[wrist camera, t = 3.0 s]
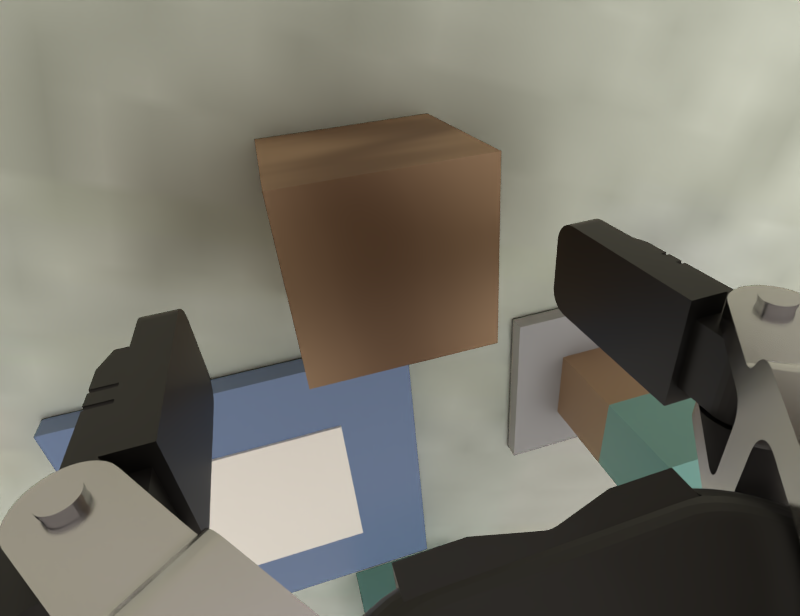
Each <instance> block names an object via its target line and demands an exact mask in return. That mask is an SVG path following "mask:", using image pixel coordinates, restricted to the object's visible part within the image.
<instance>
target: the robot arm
mask: <svg viewBox="0 0 800 616" xmlns="http://www.w3.org/2000/svg"><path fill="white" fill-rule="evenodd" d="M554 296H555V300H556V303H557V306H558V308H559V310H560V311H561V312H562V314H563V315H564V316H565V317H566V318H568V319H569V320H570V321H571V322H572V323H573V324H574V325H575V326H576V327H577V328H579V329H580V330H581V331H582V332H583V333H584V334H585V335H586V336H587V337H589V338H590V339H591V340H592V341H593V342H594V343H595V344H596V345H597V346H598V347H600V348H601V349H602V350H603V351H604V352H605V353H606V354H607V355H608V356H609V357H611V358H612V359H613V360H614V361H615V362H616V363H617V364H618V365H619V366H621V367H622V368H623V369H624V370H625V371H626V372H627V373H628V374H629V375H630V376H632V377H633V378H634V379H635V380H636V381H637V382H638V383H639V384H640V385H641V386H643V387H644V388H645V389H646V390H647V391H648V392H649V393H650V394H651V395H653V396H654V397H655V398H656V399H657V400H658V401H659V402H660V403H661V404H662V405H664V406H666V405H670V404H673V403H676V402H679V401H682V400H686V399H689V398H692V399H693V400H694V401H696V403H695V406H694V409H693V413H692V422H693V429H694V436H695V443H696V450H697V457H698V464H699V471H700V478H701V485H702V488H691V487H690V486H689V485H688V484H687V483H686V482H685V481H684V479H683V478H682V477H681V476H680V475H679V474H678V473H677V472H676V471H675V470H674V469H673V468H669V469H666V470H663V471H660V472H657V473H654V474H651V475H648V476H645V477H642V478H639V479H636V480H633V481H630V482H627V483H624V484H622V485H619V486H616V487H613V488H610V489H608V490H607V491H605V492H604V493H602V494H601V495H600V496H598V497H597V498H595V499H594V500H593V501H591V502H590V503H589V504H587V505H586V506H584V507H583V508H582V509H580V510H579V511H577V512H576V513H575V514H573V515H572V516H571V517H569V518H568V519H566V520H565V521H564V522H562V523H561V524H559V525H558V526H556V527H555V528H553V529H550V530H546V531H536V532H524V533H511V534H499V535H486V536H474V537H466V538H463V539H460V540H457V541H454V542H451V543H448V544H445V545H442V546H439V547H436V548H433V549H430V550H427V551H424V552H421V553H418V554H416V555H413V556H410V557H407V558H404V559H401V560H398V561H395V562H392V568H393V573H394V579H395V585H396V589H394V590H393V591H392V592H390V593H389V594H387V595H386V596H384V597H383V598H381V599H380V600H379V601H378V602H377V603H376V604H375V605H374V606H372V607H371V608H370V609H369V610H368V611H367V612H366V613H365V614H364V615H363V616H800V293H799V292H796V291H793V290H789V289H785V288H780V287H775V286H767V285H750V286H743V287H739V288H736V289H734V290H733V289H732V288H730V287H728V286H726V285H724V284H723V283H721V282H719V281H717V280H715V279H713V278H712V277H710V276H708V275H706V274H704V273H703V272H701V271H699V270H697V269H695V268H693V267H692V266H690V265H688V264H686V263H683V264H682V263H681V260H679V259H677V258H675V257H674V256H672V255H670V254H668V255H666V252H664V251H663V250H661V249H659V248H657V247H655V246H654V245H652V244H650V243H648V242H646V241H642V240H639V239H635V238H633V237H631V236H629V235H627V234H625V233H624V232H622V231H620V230H618V229H616V228H615V227H613V226H611V225H609V224H608V223H606V222H604V221H602V220H600V219H593V220H588V221H584V222H579V223H575V224H570V225H566V226H564V227H563V228H562V229H561V230H560V233H559V236H558V245H557V257H556V269H555V281H554ZM82 407H83V411H81V412H80V414H79V417H78V420H77V423H76V425H75V428H74V431H73V433H72V436H71V439H70V442H69V444H68V447H67V450H66V452H65V455H64V458H63V461H62V463H61V466H60V469H59V470H58V471H56V472H54V473H52V474H50V475H48V476H47V477H45V478H44V479H42V480H40V481H39V482H38V483H36V484H35V485H33V486H32V487H31V488H30V489H28V490H27V491H26V492H25V493H24V494H23V495H22V496H21V497H20V498H19V499H18V500H17V501H16V502H15V503H14V504H13V506H12V507H11V508H10V509H9V511H8V512H7V514H6V516H5V517H4V519H3V521H2V524H1V526H0V616H319V615H318V614H316V613H315V612H314V611H313V610H312V609H310V608H309V607H308V606H307V605H305V604H304V603H303V602H302V601H301V600H299V599H298V598H297V597H296V596H294V595H293V594H292V593H291V592H290V591H288V590H287V589H286V588H285V587H283V586H282V585H281V584H280V583H279V582H277V581H276V580H275V579H274V578H272V577H271V576H270V575H269V574H268V573H266V572H265V571H264V570H263V569H261V568H260V567H259V566H258V565H257V564H255V563H254V562H253V561H252V560H250V559H249V558H248V557H247V556H246V555H244V554H243V553H242V552H241V551H239V550H238V549H237V548H236V547H235V546H233V545H232V544H231V543H230V542H228V541H227V540H226V539H225V538H224V537H222V536H221V535H220V534H218V533H217V532H215V531H214V530H211V529H209V525H210V498H211V470H212V443H213V416H214V396H213V389H212V384H211V380H210V377H209V373H208V371H207V368H206V365H205V363H204V360H203V358H202V355H201V352H200V350H199V347H198V345H197V342H196V339H195V337H194V334H193V332H192V329H191V326H190V324H189V321H188V319H187V317H186V314H185V313H184V311H183V310H182V309H177V310H172V311H167V312H163V313H158V314H154V315H149V316H145V317H140V318H139V319H138V321H137V324H136V327H135V330H134V334H133V337H132V341H131V344H130V347H125V348H121V349H116V350H114V351H113V352H112V353H111V354H110V355H109V356H108V357H107V359H106V360H105V361H104V362H103V363H102V364H101V365H100V366H99V367H98V368H97V369H96V371H95V374H94V377H93V379H92V382H91V385H90V387H89V394H87V396H86V398H85V401H84V404H83V406H82Z"/></svg>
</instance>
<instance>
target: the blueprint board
mask: <svg viewBox="0 0 800 616" xmlns="http://www.w3.org/2000/svg"><path fill="white" fill-rule="evenodd" d="M211 384H212V389H213V396H214V416H213V443H212V470H211V498H210V525H209V529H211V530H214V531H215V532H217V533H218V534H220V535H221V536H222V537H224V538H225V539H226V540H227V541H228V542H230V543H231V544H232V545H233V546H235V547H236V548H237V549H238V550H239V551H241V552H242V553H243V554H244V555H246V556H247V557H248V558H249V559H250V560H252V561H253V562H254V563H255V564H257V565H258V566H259V567H260V568H261V569H263V570H264V571H265V572H266V573H268V574H269V575H270V576H271V577H272V578H274V579H275V580H276V581H277V582H279V583H280V584H281V585H282V586H283V587H285V588H286V589H287V590H288V591H290V592H291V593H292V592H296V591H299V590H302V589H305V588H308V587H311V586H314V585H317V584H320V583H323V582H326V581H330V580H333V579H336V578H339V577H342V576H345V575H348V574H351V573H354V572H357V571H360V570H364V569H367V568H370V567H373V566H376V565H379V564H382V563H385V562H388V561H391V560H394V559H398V558H401V557H404V556H407V555H410V554H413V553H416V552H419V551H422V550H425V549H427V544H426V534H425V524H424V514H423V504H422V494H421V484H420V474H419V464H418V454H417V444H416V433H415V423H414V413H413V403H412V393H411V383H410V373H409V365H406V366H402V367H398V368H394V369H390V370H386V371H382V372H378V373H374V374H370V375H366V376H362V377H358V378H354V379H350V380H345V381H341V382H337V383H333V384H329V385H325V386H321V387H317V388H313V389H309V385H308V381H307V377H306V373H305V368H304V364H303V360H302V358H301V359H297V360H293V361H289V362H285V363H280V364H276V365H272V366H268V367H263V368H259V369H255V370H251V371H246V372H242V373H238V374H234V375H229V376H225V377H221V378H217V379H212V380H211ZM81 411H83V410H81ZM81 411H77V412H72V413H68V414H64V415H60V416H55V417H51V418H47V419H43V420H42V421H41V423H40V425H39V427H38V429H37V431H36V433H35V435H34V439H35V440H36V442H37V443H38V445H39V446H40V448H41V449H42V451H43V452H44V454H45V455H46V457H47V458H48V460H49V461H50V463H51V464H52V466H53V467H54V469H55V470H56V471H58V470H59V469H60V466H61V463H62V461H63V458H64V455H65V452H66V450H67V447H68V444H69V442H70V439H71V436H72V433H73V431H74V428H75V425H76V423H77V420H78V417H79V414H80V412H81Z"/></svg>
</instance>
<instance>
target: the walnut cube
mask: <svg viewBox="0 0 800 616" xmlns="http://www.w3.org/2000/svg"><path fill="white" fill-rule="evenodd" d="M255 146H256V153H257V160H258V167H259V174H260V180H261V187H262V193H263V197H264V201H265V206H266V210H267V214H268V218H269V222H270V226H271V231H272V235H273V239H274V243H275V247H276V252H277V256H278V260H279V264H280V268H281V272H282V277H283V281H284V285H285V289H286V293H287V297H288V302H289V306H290V310H291V314H292V318H293V323H294V327H295V331H296V335H297V339H298V343H299V348H300V352H301V356H302V360H303V364H304V368H305V373H306V377H307V381H308V385H309V389H313V388H317V387H321V386H325V385H329V384H333V383H337V382H341V381H345V380H350V379H354V378H358V377H362V376H366V375H370V374H374V373H378V372H382V371H386V370H390V369H394V368H398V367H402V366H406V365H410V364H414V363H418V362H422V361H426V360H430V359H434V358H438V357H442V356H446V355H450V354H454V353H458V352H462V351H466V350H471V349H475V348H479V347H483V346H487V345H491V344H495V343H498V290H499V237H500V184H501V151H500V150H498V149H496V148H494V147H492V146H490V145H488V144H486V143H484V142H482V141H480V140H478V139H476V138H474V137H472V136H471V135H469V134H467V133H465V132H463V131H461V130H459V129H457V128H455V127H453V126H451V125H449V124H447V123H445V122H443V121H441V120H439V119H437V118H435V117H433V116H431V115H429V114H420V115H414V116H407V117H400V118H394V119H387V120H380V121H373V122H367V123H360V124H353V125H347V126H340V127H333V128H327V129H320V130H313V131H307V132H300V133H293V134H287V135H280V136H273V137H267V138H260V139H255Z"/></svg>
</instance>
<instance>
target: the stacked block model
mask: <svg viewBox="0 0 800 616" xmlns="http://www.w3.org/2000/svg"><path fill="white" fill-rule="evenodd" d="M695 403H696V401H694V400H693V399H692V398H689V399H686V400H682V401H679V402H676V403H673V404H670V405H666V406H664V405H662V404H661V403H660V402H659V401H658V400H657V399H656V398H655V397H654V396H653V395H651V394H650V393H649V392H648V391H647V390H646V389H645V388H644V387H643V386H641V385H640V384H639V383H638V382H637V381H636V380H635V379H634V378H633V377H632V376H630V375H629V374H628V373H627V372H626V371H625V370H624V369H623V368H622V367H621V366H619V365H618V364H617V363H616V362H615V361H614V360H613V359H612V358H611V357H609V356H608V355H607V354H606V353H605V352H604V351H603V350H602V349H601V348H600V347H598V346H597V345H596V344H595V343H594V342H593V341H592V340H591V339H590V338H589V337H587V336H586V335H585V334H584V333H583V332H582V331H581V330H580V329H579V328H577V327H576V326H575V325H574V324H573V323H572V322H571V321H570V320H569V319H568V318H566V317H565V316H564V315H563V314H562V312H561V311H560V310H559V309H554V310H550V311H546V312H542V313H538V314H534V315H529V316H525V317H521V318H517V319H513V331H512V357H511V383H510V409H509V436H508V447H509V448H510V450H511V451H512V453H513V455H517V454H521V453H524V452H528V451H531V450H534V449H538V448H541V447H544V446H548V445H551V444H555V443H558V442H561V441H565V440H568V439H571V438H575V437H578V438H579V439H580V440H581V441H582V443H583V444H584V445H585V446H586V447H587V449H588V450H589V451H590V452H591V454H592V455H593V456H594V457H595V459H596V460H597V461H598V462H599V463H600V465H601V466H602V467H603V468H604V470H605V471H606V472H607V473H608V475H609V476H610V477H611V478H612V479H613V481H614V482H615V483H616V484H617V486H619V485H622V484H624V483H627V482H630V481H633V480H636V479H639V478H642V477H645V476H648V475H651V474H654V473H657V472H660V471H663V470H666V469H669V468H673V469H674V470H675V471H676V472H677V473H678V474H679V475H680V476H681V477H682V478H683V479H684V481H685V482H686V483H687V484H688V485H689V486H690V487H691V488H702V485H701V478H700V471H699V464H698V457H697V450H696V443H695V436H694V429H693V422H692V413H693V409H694V406H695Z"/></svg>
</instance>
